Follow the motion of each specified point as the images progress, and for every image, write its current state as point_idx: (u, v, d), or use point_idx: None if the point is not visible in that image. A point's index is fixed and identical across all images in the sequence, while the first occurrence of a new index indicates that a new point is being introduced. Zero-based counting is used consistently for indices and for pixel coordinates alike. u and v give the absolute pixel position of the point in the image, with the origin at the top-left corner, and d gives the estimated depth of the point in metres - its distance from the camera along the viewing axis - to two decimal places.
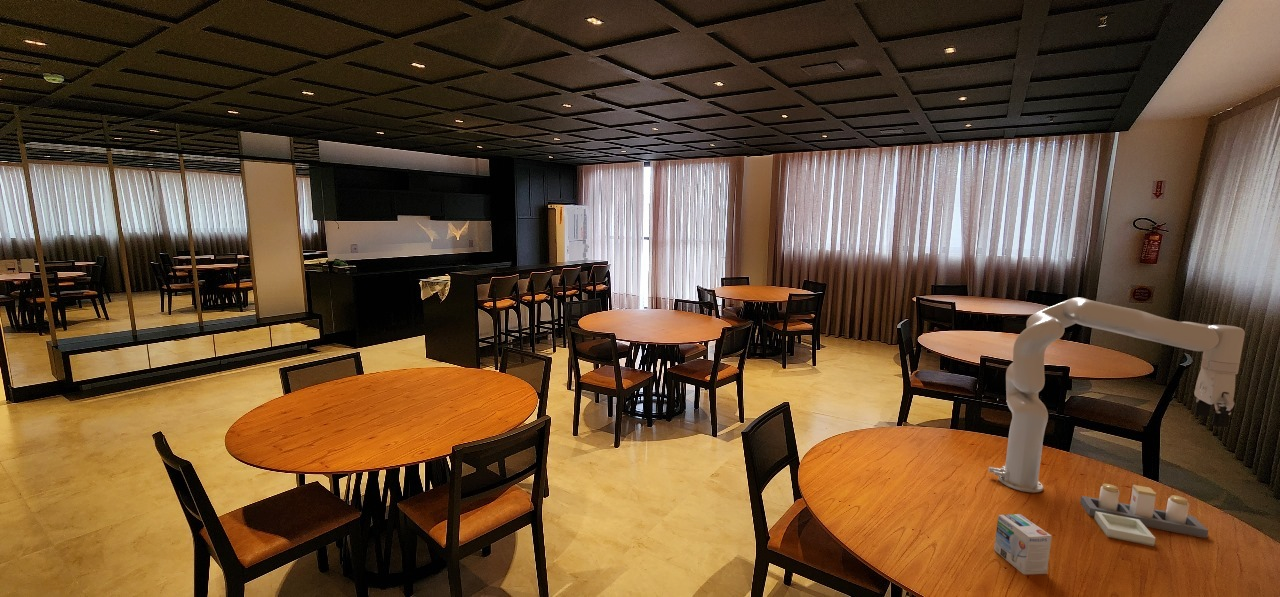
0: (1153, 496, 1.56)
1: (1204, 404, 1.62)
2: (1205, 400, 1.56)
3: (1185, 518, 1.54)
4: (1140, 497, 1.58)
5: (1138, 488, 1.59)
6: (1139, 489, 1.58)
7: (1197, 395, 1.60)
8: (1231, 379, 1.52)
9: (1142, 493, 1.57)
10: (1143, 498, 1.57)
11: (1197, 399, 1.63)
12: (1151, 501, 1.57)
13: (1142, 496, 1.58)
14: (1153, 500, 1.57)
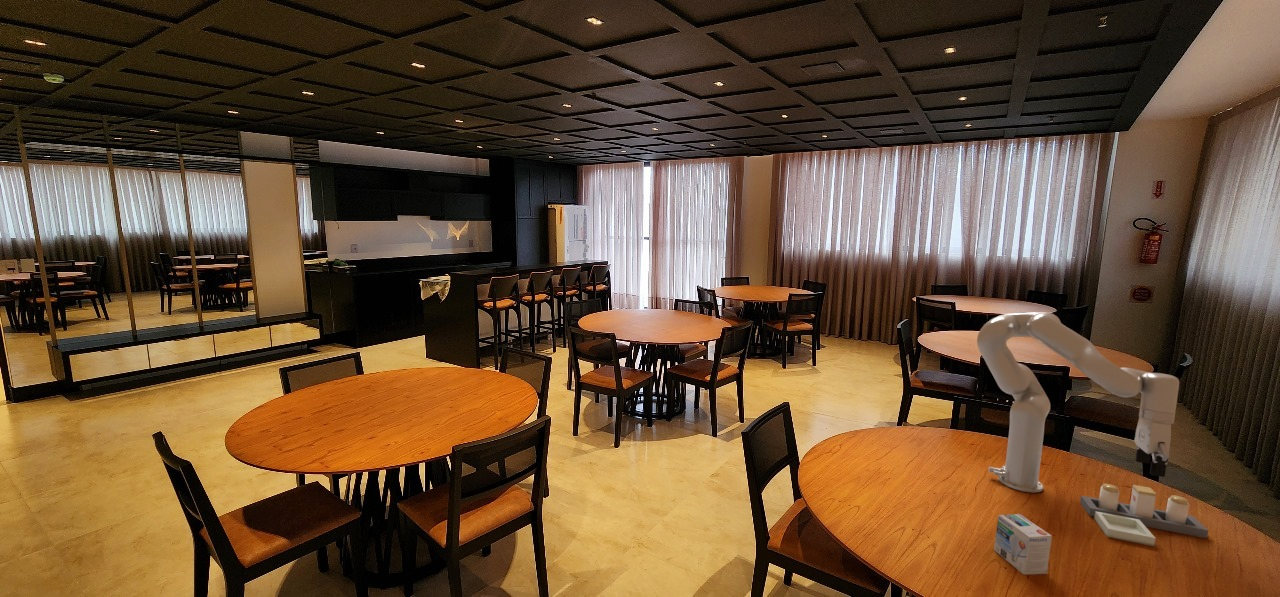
0: (1153, 496, 1.56)
1: (1144, 451, 1.61)
2: (1143, 449, 1.56)
3: (1185, 518, 1.54)
4: (1140, 497, 1.58)
5: (1138, 488, 1.59)
6: (1139, 489, 1.58)
7: (1137, 443, 1.60)
8: (1167, 428, 1.51)
9: (1142, 493, 1.57)
10: (1143, 498, 1.57)
11: (1138, 446, 1.62)
12: (1151, 501, 1.57)
13: (1142, 496, 1.58)
14: (1153, 500, 1.57)
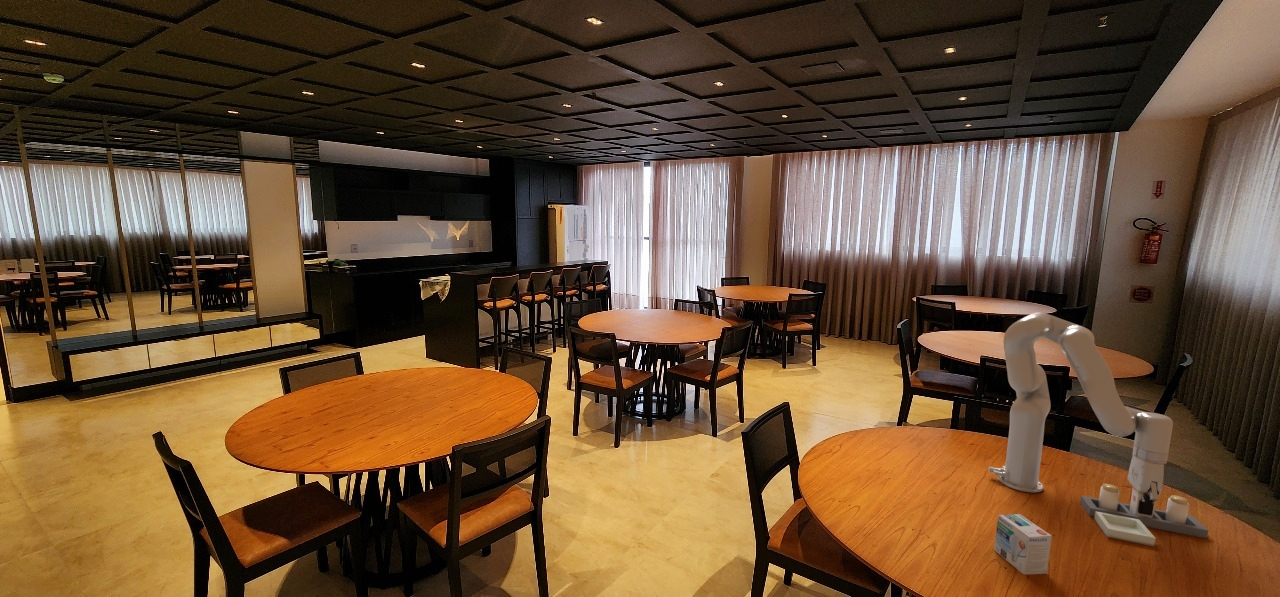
0: None
1: None
2: (1136, 487, 1.58)
3: (1185, 518, 1.54)
4: (1140, 497, 1.58)
5: None
6: None
7: (1130, 480, 1.62)
8: (1159, 469, 1.53)
9: None
10: None
11: None
12: None
13: None
14: None
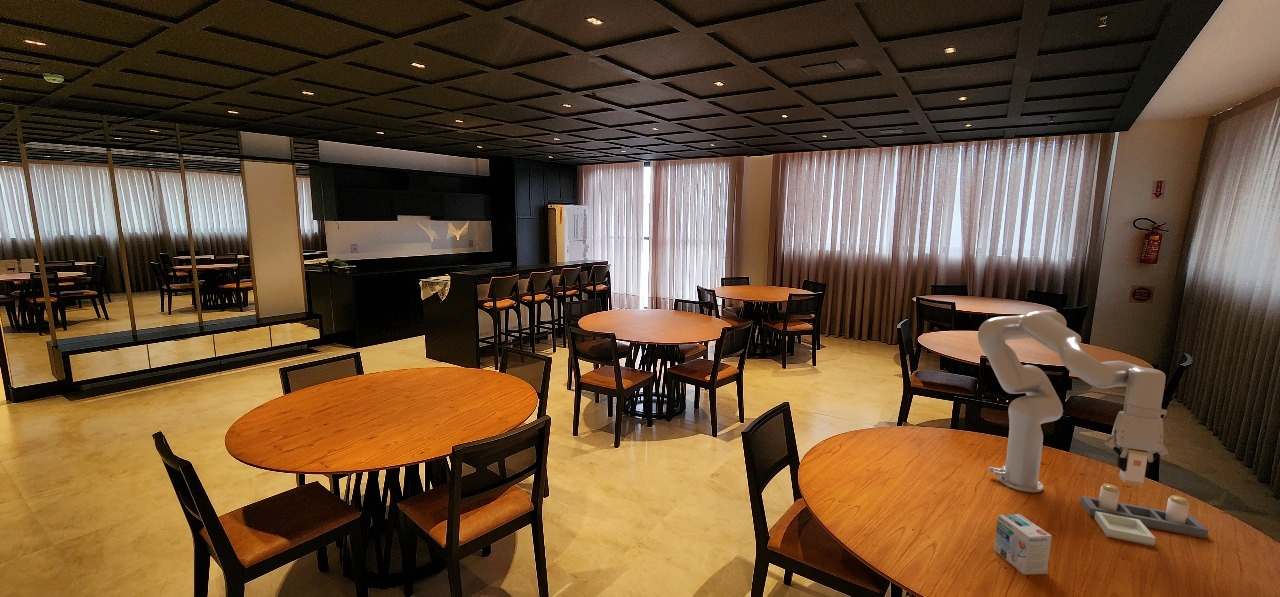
0: (1128, 452, 1.49)
1: None
2: None
3: (1185, 518, 1.54)
4: None
5: None
6: None
7: None
8: (1121, 418, 1.50)
9: None
10: None
11: None
12: (1127, 458, 1.50)
13: None
14: (1128, 457, 1.49)
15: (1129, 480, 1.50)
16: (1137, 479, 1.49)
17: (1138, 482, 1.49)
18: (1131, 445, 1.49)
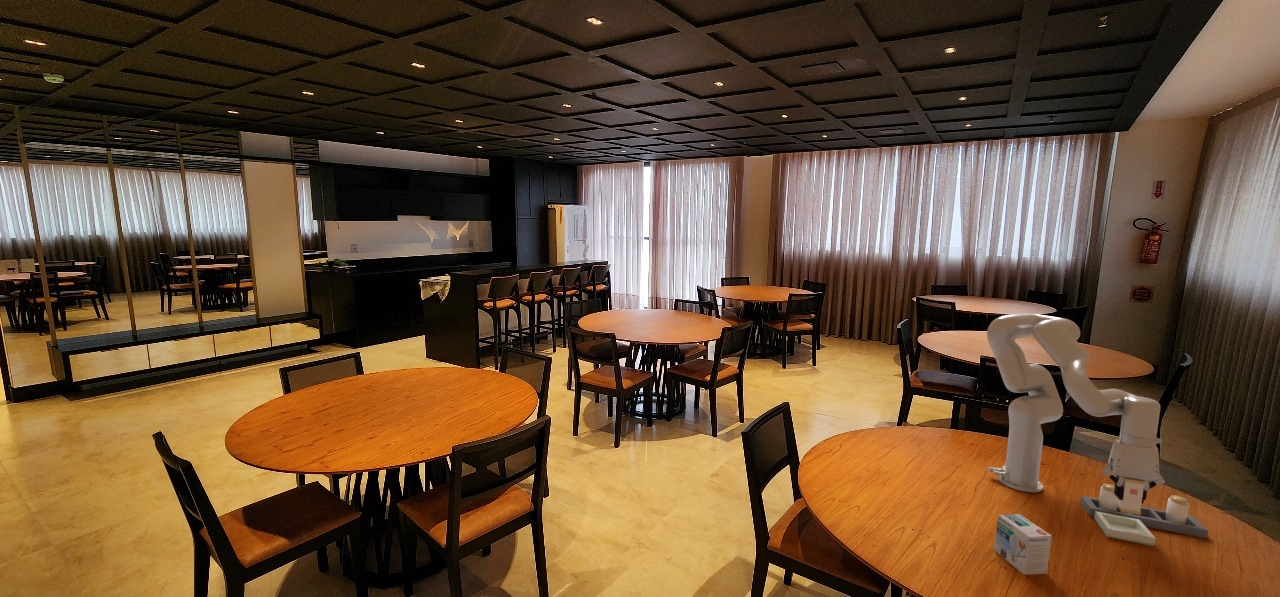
0: (1124, 481, 1.50)
1: None
2: None
3: (1185, 518, 1.54)
4: None
5: None
6: None
7: None
8: (1117, 446, 1.51)
9: None
10: None
11: None
12: (1123, 486, 1.51)
13: None
14: (1124, 485, 1.50)
15: (1126, 509, 1.50)
16: (1134, 508, 1.50)
17: (1135, 511, 1.50)
18: (1127, 474, 1.50)
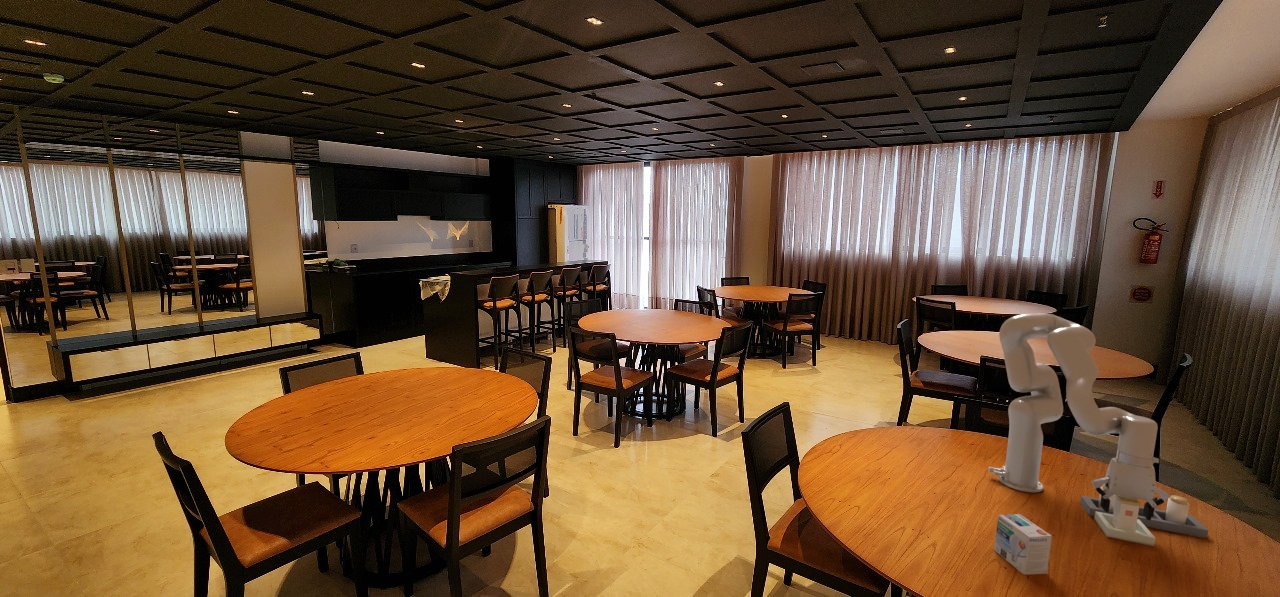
0: (1120, 502, 1.52)
1: (1147, 505, 1.50)
2: None
3: (1185, 518, 1.54)
4: (1116, 501, 1.54)
5: (1125, 496, 1.53)
6: None
7: None
8: (1113, 465, 1.52)
9: (1116, 497, 1.54)
10: (1116, 503, 1.54)
11: None
12: (1119, 507, 1.52)
13: (1116, 500, 1.54)
14: (1120, 507, 1.52)
15: None
16: (1129, 529, 1.51)
17: None
18: (1123, 492, 1.51)
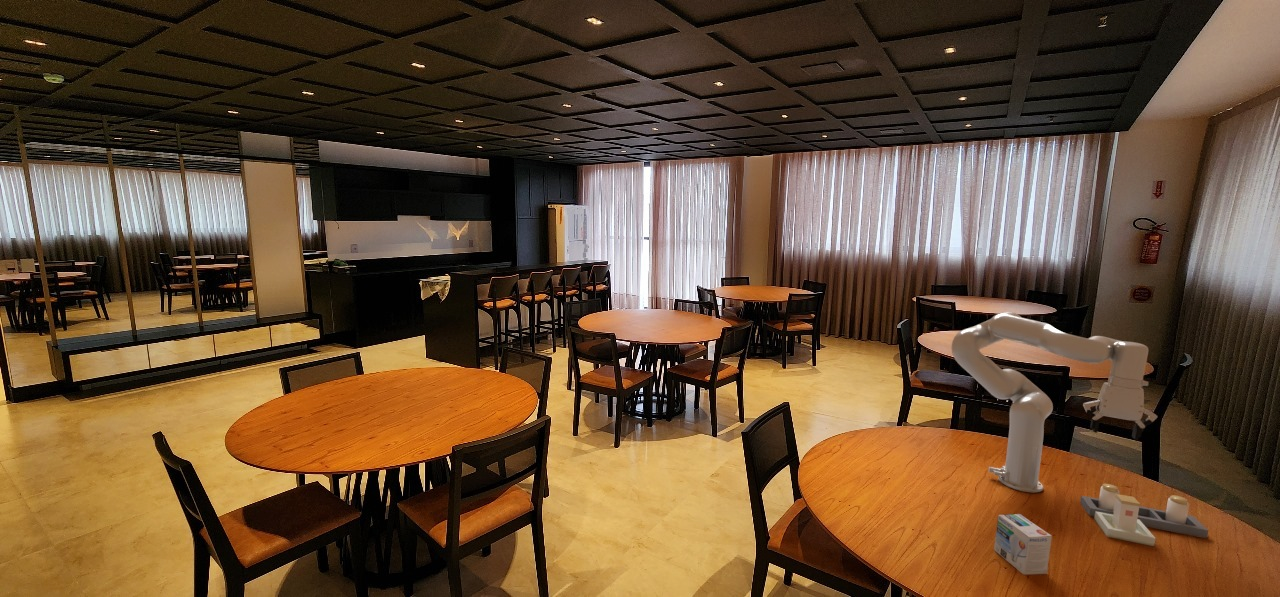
0: (1120, 502, 1.52)
1: (1135, 426, 1.58)
2: None
3: (1185, 518, 1.54)
4: (1116, 501, 1.54)
5: (1125, 496, 1.53)
6: (1121, 495, 1.54)
7: None
8: (1104, 388, 1.60)
9: (1116, 497, 1.54)
10: (1116, 503, 1.54)
11: None
12: (1119, 507, 1.52)
13: (1116, 500, 1.54)
14: (1120, 507, 1.52)
15: None
16: (1129, 529, 1.51)
17: None
18: (1112, 413, 1.59)
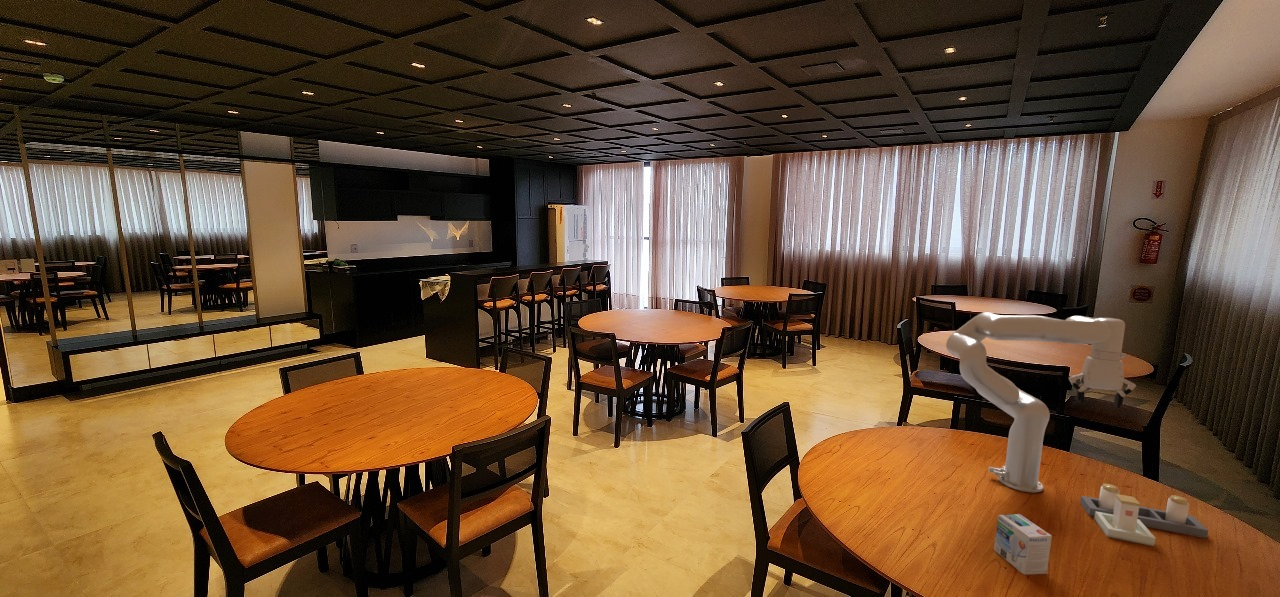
0: (1120, 502, 1.52)
1: (1117, 396, 1.72)
2: None
3: (1185, 518, 1.54)
4: (1116, 501, 1.54)
5: (1125, 496, 1.53)
6: (1121, 495, 1.54)
7: None
8: (1087, 362, 1.73)
9: (1116, 497, 1.54)
10: (1116, 503, 1.54)
11: None
12: (1119, 507, 1.52)
13: (1116, 500, 1.54)
14: (1120, 507, 1.52)
15: None
16: (1129, 529, 1.51)
17: None
18: (1096, 385, 1.72)
